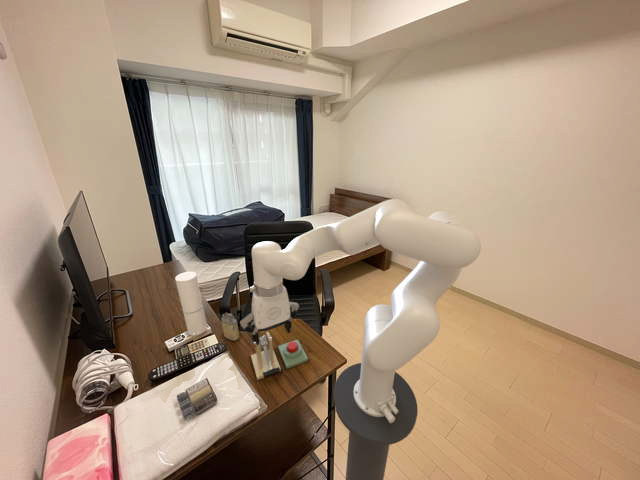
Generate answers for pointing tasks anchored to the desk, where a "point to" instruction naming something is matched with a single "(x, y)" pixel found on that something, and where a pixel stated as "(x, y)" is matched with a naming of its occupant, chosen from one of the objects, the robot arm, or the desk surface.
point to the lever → (267, 359)
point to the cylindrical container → (191, 302)
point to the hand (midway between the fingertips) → (272, 335)
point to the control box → (292, 355)
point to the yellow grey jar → (230, 327)
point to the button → (292, 347)
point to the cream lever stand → (264, 358)
